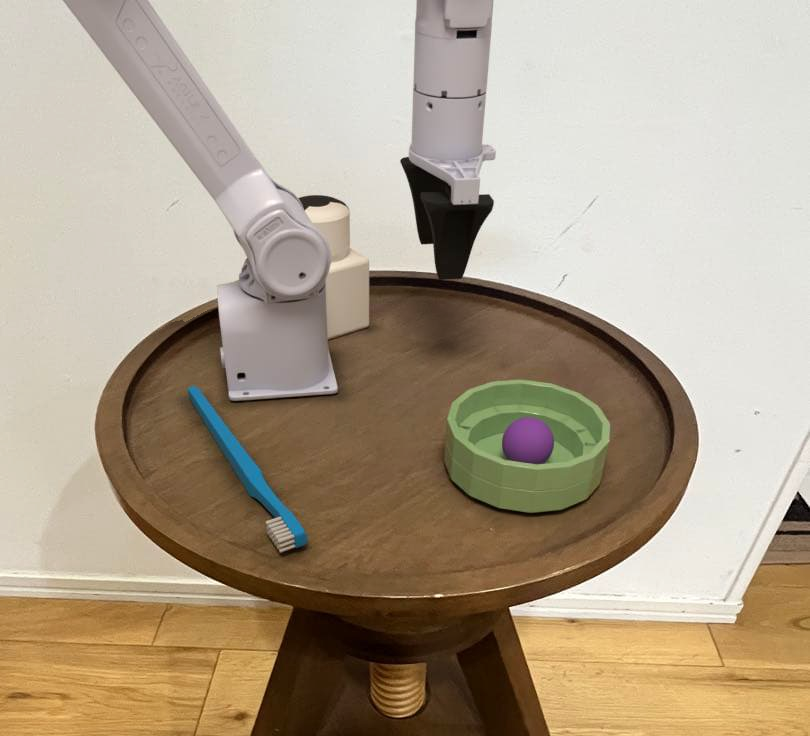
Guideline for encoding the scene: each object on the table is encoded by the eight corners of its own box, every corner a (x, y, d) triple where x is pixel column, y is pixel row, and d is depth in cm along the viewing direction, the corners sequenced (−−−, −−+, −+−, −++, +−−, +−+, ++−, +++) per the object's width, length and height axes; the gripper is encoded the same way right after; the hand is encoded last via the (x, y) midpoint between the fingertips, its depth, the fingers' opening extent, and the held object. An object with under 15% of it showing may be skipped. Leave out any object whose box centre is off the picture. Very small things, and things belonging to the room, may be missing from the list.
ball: (506, 481, 65) (513, 439, 63) (493, 450, 68) (499, 408, 65) (556, 477, 66) (565, 436, 63) (540, 446, 69) (549, 405, 66)
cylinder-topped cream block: (272, 318, 86) (262, 197, 78) (331, 301, 89) (327, 183, 81) (309, 346, 82) (303, 222, 74) (370, 327, 85) (370, 206, 77)
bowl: (465, 524, 62) (470, 475, 59) (430, 432, 71) (433, 385, 68) (623, 509, 64) (635, 460, 61) (569, 421, 73) (578, 374, 70)
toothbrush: (202, 399, 74) (180, 405, 74) (198, 380, 73) (176, 386, 72) (308, 548, 59) (281, 558, 58) (305, 527, 58) (278, 537, 57)
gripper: (526, 113, 61) (506, 292, 70) (476, 67, 72) (465, 226, 81) (430, 116, 60) (422, 297, 69) (394, 68, 71) (392, 230, 80)
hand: (440, 259), depth 75 cm, fingers open, 7 cm apart
